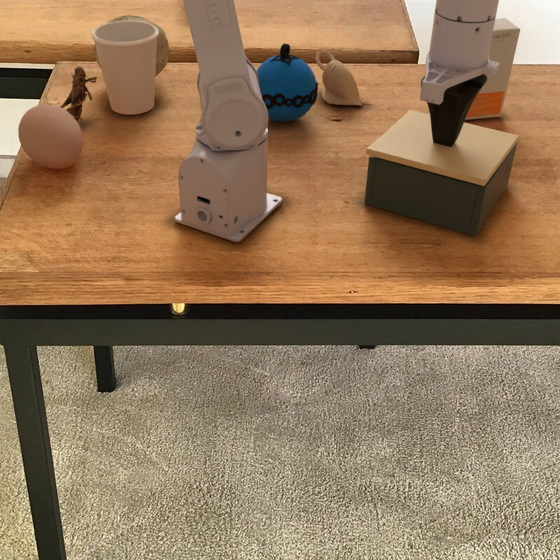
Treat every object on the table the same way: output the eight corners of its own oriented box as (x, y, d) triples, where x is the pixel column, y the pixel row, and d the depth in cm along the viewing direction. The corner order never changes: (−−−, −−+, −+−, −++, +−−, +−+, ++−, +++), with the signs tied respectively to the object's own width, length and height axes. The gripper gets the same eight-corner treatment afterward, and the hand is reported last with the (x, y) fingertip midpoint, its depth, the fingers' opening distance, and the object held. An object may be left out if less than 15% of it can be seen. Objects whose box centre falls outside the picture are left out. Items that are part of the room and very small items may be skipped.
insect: (66, 133, 100) (44, 124, 95) (77, 68, 100) (56, 56, 95) (96, 137, 99) (76, 128, 94) (107, 71, 99) (88, 59, 94)
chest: (475, 237, 80) (486, 188, 76) (364, 204, 84) (368, 156, 81) (507, 187, 88) (517, 141, 84) (403, 160, 92) (409, 115, 89)
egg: (11, 151, 92) (39, 188, 85) (5, 97, 88) (34, 131, 81) (66, 142, 95) (97, 176, 89) (63, 89, 91) (95, 121, 85)
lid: (484, 186, 75) (485, 180, 75) (365, 154, 80) (366, 148, 79) (517, 141, 84) (519, 135, 84) (409, 115, 89) (410, 109, 89)
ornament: (270, 100, 105) (271, 27, 99) (327, 114, 102) (331, 40, 96) (238, 124, 99) (237, 48, 93) (297, 140, 96) (300, 62, 90)
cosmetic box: (461, 122, 101) (477, 31, 94) (447, 108, 104) (461, 20, 97) (502, 117, 102) (521, 28, 95) (487, 104, 106) (504, 16, 98)
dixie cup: (158, 120, 99) (152, 44, 93) (94, 117, 100) (83, 41, 94) (169, 93, 106) (163, 20, 100) (108, 91, 106) (99, 18, 100)
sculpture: (107, 93, 109) (83, 37, 100) (107, 75, 111) (83, 19, 102) (177, 79, 108) (159, 22, 100) (176, 62, 110) (158, 5, 102)
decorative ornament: (336, 111, 103) (338, 73, 100) (309, 87, 109) (311, 50, 106) (363, 107, 104) (366, 68, 101) (335, 83, 110) (337, 46, 107)
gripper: (483, 44, 67) (458, 182, 75) (527, -1, 77) (501, 124, 85) (406, 29, 69) (390, 163, 77) (459, -13, 79) (440, 110, 88)
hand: (444, 142), depth 81 cm, fingers closed, pressing on lid
